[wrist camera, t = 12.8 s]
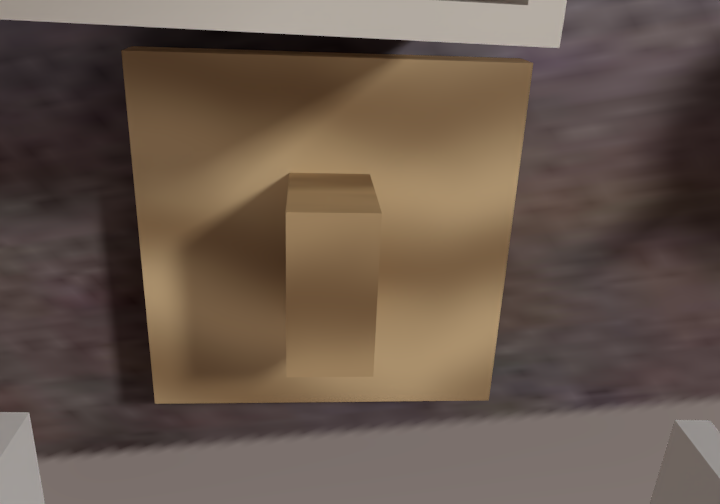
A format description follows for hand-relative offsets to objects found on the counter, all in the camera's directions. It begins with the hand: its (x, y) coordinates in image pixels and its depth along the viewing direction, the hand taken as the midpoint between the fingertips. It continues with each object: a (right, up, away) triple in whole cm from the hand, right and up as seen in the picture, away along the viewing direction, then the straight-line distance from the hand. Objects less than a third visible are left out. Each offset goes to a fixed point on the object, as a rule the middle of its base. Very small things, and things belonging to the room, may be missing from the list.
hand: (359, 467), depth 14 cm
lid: (-1, +5, +14) cm, 15 cm away
